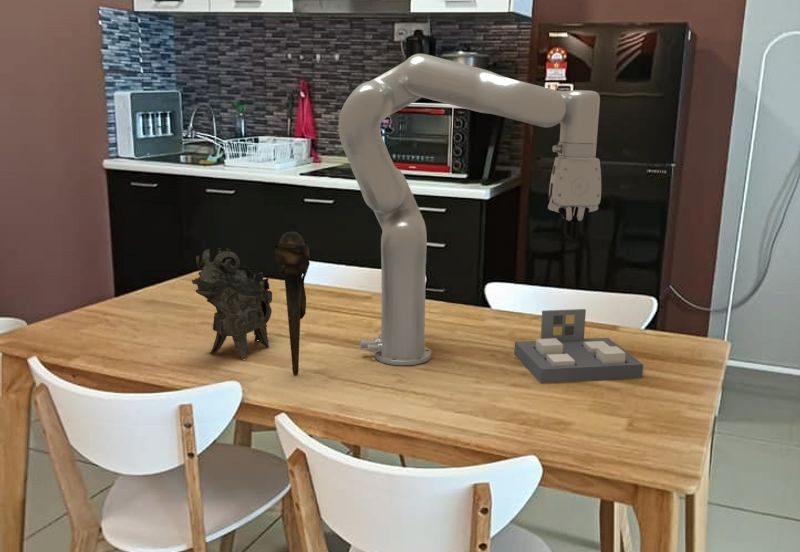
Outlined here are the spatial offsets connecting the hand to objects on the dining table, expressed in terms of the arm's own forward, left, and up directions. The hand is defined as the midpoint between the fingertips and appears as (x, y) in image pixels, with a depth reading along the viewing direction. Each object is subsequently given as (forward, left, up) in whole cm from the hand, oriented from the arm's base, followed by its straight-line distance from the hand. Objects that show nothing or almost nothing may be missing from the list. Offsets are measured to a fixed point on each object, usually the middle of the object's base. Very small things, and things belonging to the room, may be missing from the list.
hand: (570, 237), depth 177 cm
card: (+1, +4, -24) cm, 25 cm away
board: (+1, -4, -27) cm, 28 cm away
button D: (+7, -2, -26) cm, 27 cm away
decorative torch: (-59, -1, -28) cm, 65 cm away
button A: (-4, -9, -26) cm, 28 cm away
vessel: (-71, +16, -28) cm, 78 cm away
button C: (-4, -2, -25) cm, 25 cm away
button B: (+7, -9, -25) cm, 27 cm away
